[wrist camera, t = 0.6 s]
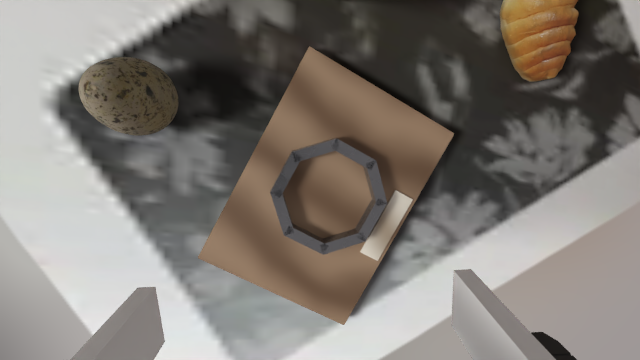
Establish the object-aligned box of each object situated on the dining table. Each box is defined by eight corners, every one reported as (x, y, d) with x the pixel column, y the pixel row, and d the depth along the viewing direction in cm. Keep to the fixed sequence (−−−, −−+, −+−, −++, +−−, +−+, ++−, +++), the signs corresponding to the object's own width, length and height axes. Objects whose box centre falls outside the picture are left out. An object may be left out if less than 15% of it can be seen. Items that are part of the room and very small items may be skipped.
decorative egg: (161, 147, 32) (107, 156, 22) (106, 105, 31) (23, 93, 21) (201, 98, 32) (165, 84, 22) (146, 53, 31) (82, 17, 21)
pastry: (564, 75, 35) (597, 68, 32) (503, 88, 35) (529, 84, 31) (555, -22, 34) (589, -41, 30) (490, -9, 33) (517, -26, 30)
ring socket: (306, 122, 32) (307, 122, 30) (397, 173, 33) (403, 175, 32) (255, 216, 32) (254, 221, 31) (347, 262, 34) (350, 268, 32)
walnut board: (308, 50, 32) (309, 45, 30) (447, 133, 35) (455, 133, 33) (201, 252, 34) (197, 258, 32) (341, 317, 36) (344, 326, 35)
